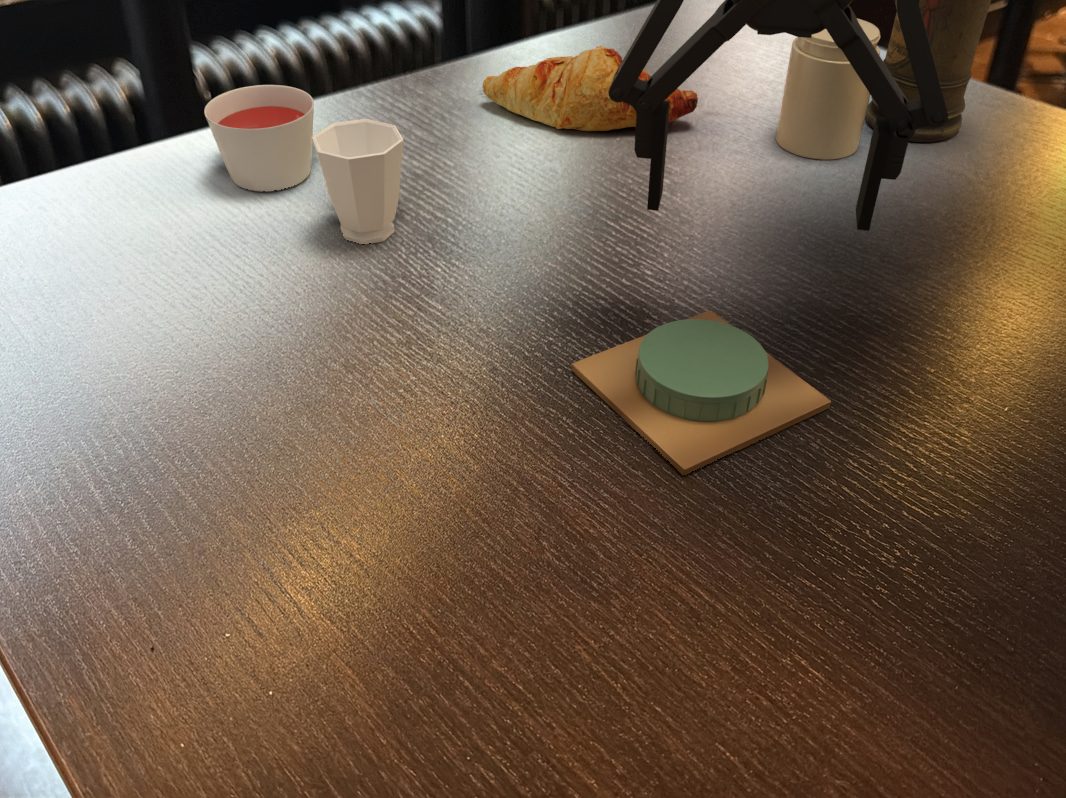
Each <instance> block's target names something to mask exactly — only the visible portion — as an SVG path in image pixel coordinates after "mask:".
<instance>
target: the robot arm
mask: <svg viewBox="0 0 1066 798" xmlns="http://www.w3.org/2000/svg"><path fill="white" fill-rule="evenodd" d="M684 1H685V0H656V2H655V3H654V6H653V7H652V8H651V10H650V13H649V14H648V16H647V17H646V19H645V20H644V23H643V24H642V26H641V28H640V29H639V32H637V35H636V36H635V38H634V40H633V42H632V43H631V46H630V47H629V49H628V51H627V52H626V54H625V56H624V57H623V58H622V60H623V61H622V63H621V64H620V66H619V68H618V70H617V71H616V73H615V75H614V78H613V80H612V83H611V86H610V89H609V92H608V93H609V97H610V99H611V100H612V101H614V102H624V103H627V104H629V105H631V106H632V107H633V108H634V109H635V111H636V127H635V133H634V148H633V149H634V150H633V151H634V153H635V156H636V158H637V159H647V160H650V162H649V163H650V165H649V175H648V176H649V177H648V191H647V203H646V204H647V205H646V210H647V211H657V212H659V208H660V205H661V200H662V196H663V192H664V190H663V189H664V183H665V182H664V181H665V169H666V168H665V167H666V158H667V157H666V156H667V146H668V145H667V143H668V132H669V123H670V122H669V110H670V101H665V100H666V99H667V98H668V97H669V96H670V95H671V94H672V93H673V92H674V91H675V90H676V89H677V88H678V89H679V87H681V86H682V84H683V83H684V82H686V81H687V79H689V78H690V77H691V76H692V75H693V74H694V73H695V72H696V71H697V70H698V69H699V68H700V67H701V66H702V65H703V64H704V63H705V62H706V61H707V60H708V59H710V57H712V55H714V54H715V53H716V52H717V51H718V50H719V48H721V47H722V46H723V45H724V44H725V43H726V42H729V41H730V40H732V39H733V38H734V37H735V36H736V35H737V34H738V33H739V32H740V31H741V30H742V29H743V28H744V27H745V26H746V25H747V27H748V28H750V29H751V30H754V31H756V34H757V35H762V36H774V35H779V34H784V33H785V34H788V35H791V36H794V37H795V38H797V37H805V38H811V37H812V34H816V33H819V32H821V31H823V30H824V29H826V30H827V31H828V33H829V34H830V36H831V37H832V39H833V41H834V42H835V44H836V45H837V47H838V48H840V49H841V50H842V52H843V53H844V55H845V56H846V58H847V59H848V61H849V62H850V64H851V65H852V67H853V69H854V70H855V72H856V73H857V75H858V76H859V78H860V79H861V81H862V82H863V84H864V85H865V87H866V89H867V90H868V92H869V93H870V97H871V96H872V98H873V99H874V101H875V102H876V104H877V106H878V107H879V109H880V110H881V112H882V113H883V115H884V116H885V117H876V120H875V125H874V128H872V129H873V130H872V133H871V139H870V143H869V148H868V151H867V156H866V161H865V166H864V170H863V174H862V179H861V184H860V187H859V192H858V197H857V202H856V206H855V221H856V230H857V231H867V232H869V231H870V229H871V225H872V220H873V215H874V212H875V208H876V204H877V200H878V195H879V191H880V186H881V182H882V180H893V181H896V180H897V178H898V177H899V176H900V175H901V174H902V170H903V166H904V161H905V157H906V153H907V150H908V145H909V143H910V141H909V139H910V138H911V137H912V136H913V135H914V133H915V130H916V129H918V128H920V127H924V126H928V125H930V126H932V127H940V126H942V125H944V124H945V123H946V122H947V119H948V112H947V108H946V104H945V100H944V96H943V92H942V89H941V85H940V81H939V77H938V73H937V70H936V66H935V62H934V58H933V55H932V51H931V47H930V43H929V40H928V36H927V32H926V28H925V25H924V21H923V17H922V13H921V10H920V6H919V0H894V3H895V8H896V13H897V14H898V19H899V23H900V27H901V30H902V34H903V37H904V41H905V45H906V48H907V52H908V55H909V59H910V63H911V66H912V70H913V73H914V77H915V80H916V84H917V88H918V91H919V95H920V99H916V100H912V101H908V100H907V98H906V97H905V95H904V94H903V92H902V90H901V89H900V87H899V86H898V84H897V83H896V81H895V79H894V78H893V76H892V75H891V73H890V71H889V70H888V68H887V67H886V65H885V64H884V62H883V60H884V59H882V57H881V55H880V56H879V54H878V53H877V51H876V49H875V48H874V46H873V45H872V43H871V41H870V40H869V38H868V37H867V35H866V34H865V32H864V30H863V29H862V27H861V26H860V24H859V22H858V20H857V19H858V18H857V16H856V14H855V12H854V10H853V9H852V7H851V6H850V4H852V2H853V1H854V0H724V1H722V3H721V4H720V5H719V6H718V7H717V9H716V10H715V11H714V13H713V14H712V15H711V16H710V17H709V18H708V19H707V20H706V21H705V22H704V23H703V24H702V25H701V26H700V27H699V28H698V29H697V30H696V31H694V33H693V34H692V35H691V36H690V37H689V38H688V39H687V40H686V41H685V42H684V43H683V44H682V45H681V46H680V47H679V48H678V49H677V50H675V52H674V53H673V54H672V55H671V56H670V57H669V58H668V59H667V60H666V61H665V62H664V63H663V64H662V65H661V66H660V67H658V69H657V70H656V71H655V72H654V73H653V74H652V75H650V76H651V77H650V78H649V79H648V80H647V81H646V80H644V81H643V80H641V79H638V78H639V76H640V74H641V73H642V71H643V69H644V70H645V67H646V66H647V64H648V63H649V61H650V59H651V58H652V56H653V54H654V53H655V51H656V49H657V47H658V45H659V44H660V43H661V40H662V39H663V37H664V36H665V34H666V32H667V30H669V27H670V26H671V24H672V22H673V21H674V19H675V17H676V16H677V14H678V12H679V10H680V9H681V7H682V5H683V3H684ZM872 98H871V99H872ZM668 122H669V123H668Z"/></svg>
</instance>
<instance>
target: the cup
mask: <svg viewBox="0 0 1066 798" xmlns="http://www.w3.org/2000/svg"><path fill="white" fill-rule="evenodd" d="M312 144H313V147H314V150H315V153H316V156H317V160H318V163H319V166H320V170H321V173H322V176H323V181H324V183H325V187H326V190H327V193H328V197H329V198H330V201H331V204H332V206H333V209H334V211H335V213H336V216H337V219H338V221H339V223H340V226H339V227H340V231H341V234H342V233H343V234H342V237H343V239H344V238H345V239H346V240H345V239H344V240H345V241H347V240H349V241H348V242H350V241H353V242H352V243H354V242H357V243H356V244H358V243H359V244H358V245H361V244H365V245H370V244H369V243H371V244H375V243H376V244H377V243H381V242H382V243H383V242H385V241H386V240H387V239H388V238H389V237H391V236H392V235H393V234H394V233H395V232H396V230H395V225H394V223H393V221H394V220H395V219H396V214H397V211H398V210H397V209H398V205H399V200H400V191H401V178H402V177H401V175H402V164H403V151H404V138H403V136H402V135H401V133H400V131H399V129H398V127H397V126H396V124H391V123H387V122H382V121H377V120H374V119H369V118H360V119H353V120H345V121H338V122H332V123H330V124H329V125H327V126H326V127H324V128H322V129H321V130H320V131H318V132H317V133H314V134H313V136H312Z"/></svg>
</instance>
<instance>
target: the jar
mask: <svg viewBox="0 0 1066 798" xmlns="http://www.w3.org/2000/svg"><path fill="white" fill-rule="evenodd" d="M857 20H858V22H859V24H860V26H861V27H862V29H863V30H864V32H865V34H866V35H867V37H868V38H869V40H870V41H871V43H872V45H873V46H874V48H875V49H876V51H877V53H878V54H879V56H880V57H881V55H880V54H881V49H880V47H879V46H878V44H879V42H880V40H881V32H880V29H879V28H878V27H877V26H876V25H875V24H874V23H871V22H869V21H867V20H863V19H860V18H857ZM784 83H785V84H784V88H783V94H782V100H781V106H780V111H779V116H778V123H777V129H776V134H775V140H776V142H777V144H778V145H779V146H780V147H781V148H782V149H784V150H785V151H787V152H789V153H791V154H793V155H796V156H799V157H802V158H807V159H813V160H826V161H827V160H829V161H830V160H839V159H844V158H847V157H850V156H851V155H853V154H855V153H857V150H858V149H859V146H860V141H861V136H862V132H863V128H864V124H865V120H866V111H867V107H868V104H869V103H870V99H871V95H870V93H869V92H868V90H867V89H866V87H865V85H864V84H863V82H862V81H861V79H860V78H859V76H858V75H857V73H856V72H855V70H854V69H853V67H852V65H851V64H850V62H849V61H848V59H847V58H846V56H845V55H844V53H843V52H842V50H841V49H840V48H838V47H837V45H836V44H835V42H834V41H833V39H832V37H831V36H830V34H829V33H828V31H827V30H826V29H824V30H823V31H821V32H819V33H816V34H812V37H811V38H805V37H795V38H794V39H793V41H792V42H791V48H790V54H789V60H788V65H787V71H786V76H785V82H784Z"/></svg>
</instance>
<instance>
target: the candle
mask: <svg viewBox="0 0 1066 798" xmlns="http://www.w3.org/2000/svg"><path fill="white" fill-rule="evenodd" d="M314 112H315V102H314V98H313V97H312V96H311V95H310V93H308V92H306V91H304V90H303V89H300V88H296V87H293V86H288V85H281V84H260V85H259V84H257V85H249V86H244V87H239V88H235V89H232V90H228V91H225V92H223V93H221V94H218V95H217V96H215V97H214V98H212V99H211V100H210V101H209V102H208V103H207V104H206V105H205V106H204V112H203V113H204V116H205V119H206V121H207V124H208V127H209V129H210V131H211V134H212V136H213V139H214V141H215V144H216V146H217V148H218V151H219V153H220V155H221V159H222V160H223V163H224V164H225V168H226V169H227V172H228V175H229V177H230V179H231V180H232V182H233V183H234V184H235V185H237V186H238V187H240V188H241V189H245V190H247V189H248V191H252V190H253V191H252V192H263V191H265V192H275V191H274V190H277V191H282V190H285V189H284V188H286V189H289V188H288V187H290V188H292V187H294V185H295V186H297V185H299V184H301V183H303V181H305V180H306V179H307V178H308V177H309V176H310V173H311V169H312V161H313V160H312V158H313V140H312V136H314ZM291 186H292V187H291ZM281 189H282V190H281Z"/></svg>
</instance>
